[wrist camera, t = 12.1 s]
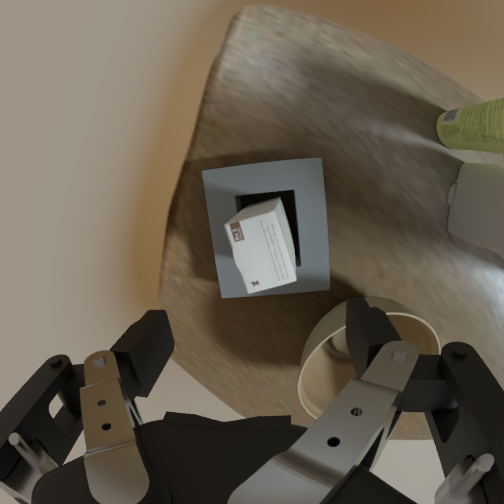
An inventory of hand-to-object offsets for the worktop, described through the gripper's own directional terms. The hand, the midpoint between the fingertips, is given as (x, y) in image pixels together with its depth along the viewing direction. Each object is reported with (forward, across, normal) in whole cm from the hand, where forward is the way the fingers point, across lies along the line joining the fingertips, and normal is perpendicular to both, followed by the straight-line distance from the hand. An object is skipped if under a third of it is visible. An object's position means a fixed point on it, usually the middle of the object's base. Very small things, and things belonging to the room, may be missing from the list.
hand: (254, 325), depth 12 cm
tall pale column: (+22, -25, -2) cm, 34 cm away
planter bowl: (+22, -10, +15) cm, 28 cm away
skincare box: (+22, 0, 0) cm, 22 cm away
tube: (+22, -24, -10) cm, 34 cm away
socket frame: (+22, 0, 0) cm, 22 cm away
